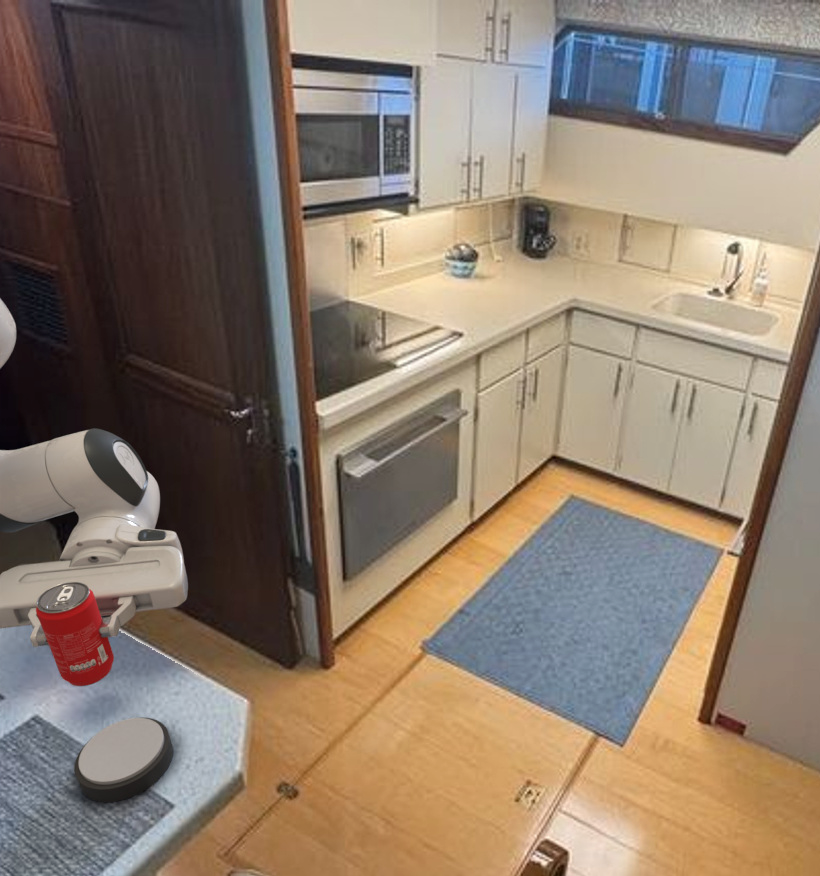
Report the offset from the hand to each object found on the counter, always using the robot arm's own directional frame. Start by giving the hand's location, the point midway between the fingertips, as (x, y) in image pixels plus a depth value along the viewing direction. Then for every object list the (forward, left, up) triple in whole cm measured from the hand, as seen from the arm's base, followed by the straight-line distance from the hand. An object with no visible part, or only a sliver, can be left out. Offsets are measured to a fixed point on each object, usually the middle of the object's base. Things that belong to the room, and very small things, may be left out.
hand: (74, 637), depth 78 cm
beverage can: (0, +1, -7) cm, 7 cm away
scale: (+5, -8, -13) cm, 16 cm away
